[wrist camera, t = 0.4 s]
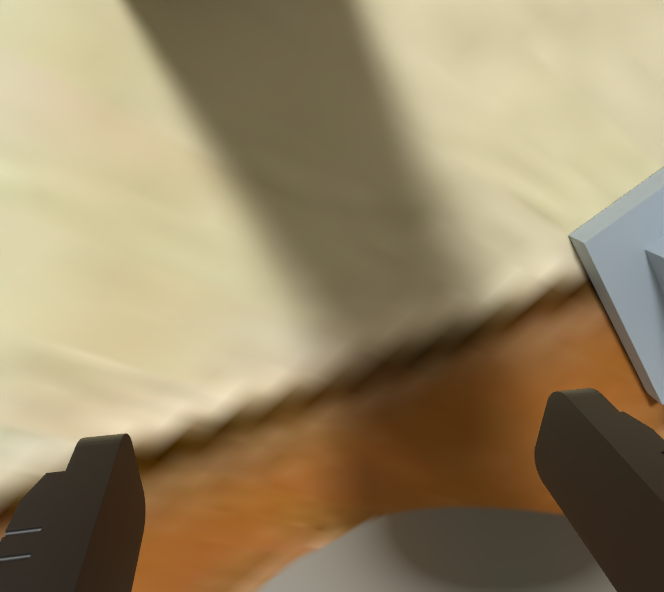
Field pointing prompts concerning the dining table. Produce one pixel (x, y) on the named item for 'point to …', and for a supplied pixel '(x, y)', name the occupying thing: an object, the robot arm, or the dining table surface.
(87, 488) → the robot arm
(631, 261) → the stand
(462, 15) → the dining table surface
